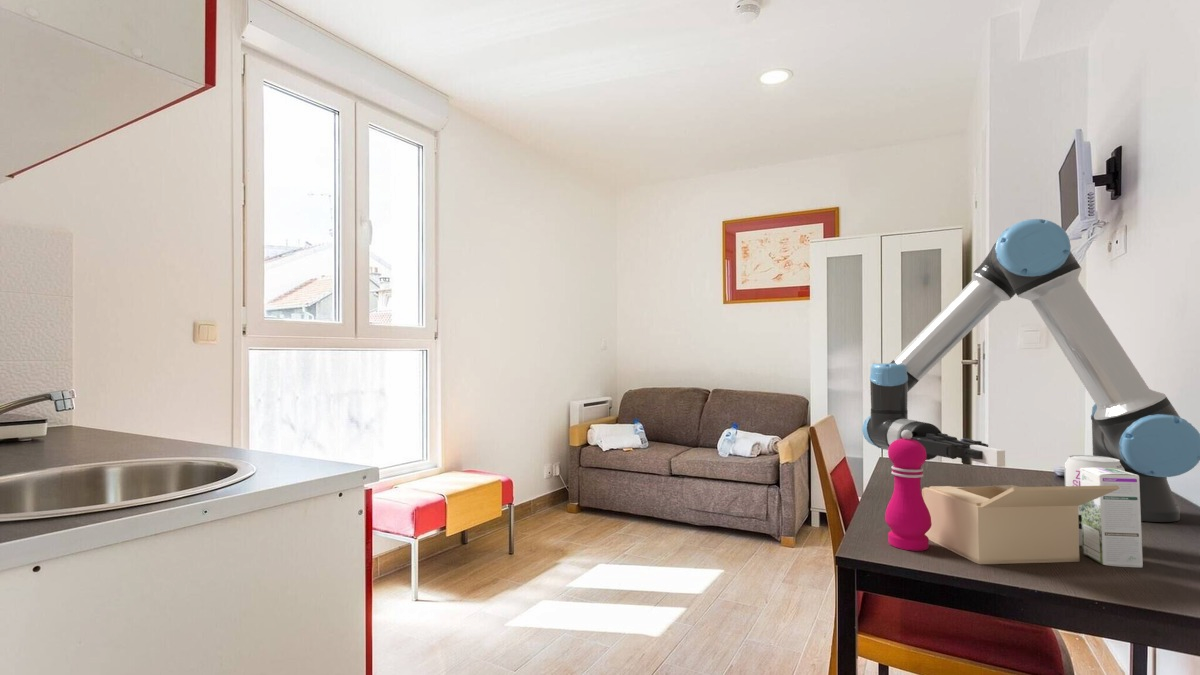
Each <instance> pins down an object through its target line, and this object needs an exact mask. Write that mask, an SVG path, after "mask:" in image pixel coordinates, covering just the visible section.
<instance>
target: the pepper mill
mask: <svg viewBox="0 0 1200 675" xmlns="http://www.w3.org/2000/svg"><path fill="white" fill-rule="evenodd" d="M901 436H902V438H903V439H898V440H895V441H894V442H892V443H891V444H890V446H889V449H888V450H887V455H888V459H889V460H890V461H891V462H892V466H891V474H892V475H893V476H894V477H893V478H894V483H893V485H894V487H893V488H894V489H893V493H892V495H891V497H890V499H889V502H888V504H887V507H886V509H885V514H884V520H885V523H886V525H887V526H888V527H889V529H890V531H889V532H888V536H887V537H888V540H887V541H888V544H889V545H890V546H892V547H894V548H896V549H900V550H906V551H914V552H915V551H916V552H920V551H921V552H922V551H926V550H928V549H929V547H930V544H929V543H930V542H929V541H930V540H929V538H928V537H927V536H926V535H925V533H926V532H927V531H928V530H929V529H930V528H931V525H932V523H931V516H930V513H929V510H928V508H927V506H926V504H925V502H924V499H923V497H922V488H921V481H922V478H923V477H924V473H923V472H924V468H923V467H922V466H923V464H924V463H925V462H926V461H927V460H926V456H927V455H926V450H925V448H924V446H923V445H922V444H921V443H919V442H918V441H916V440H913V439H911V438H912V433H911V431H909V430H904V431H902V433H901Z"/></svg>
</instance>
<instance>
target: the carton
mask: <svg viewBox="0 0 1200 675" xmlns="http://www.w3.org/2000/svg"><path fill="white" fill-rule="evenodd" d="M1012 487H1019V485H1014V484H1003V485H1002V484H1000V485H999V484H997V485H992V486H989V485H987V486H952V485H946V486H945V485H941V486H940V485H937V486H935V485H934V486H933V485H931V486H929V487H927V486H926V487H923V488H921V493H922V497H923V499H924V502H925V504H926V506H927V508H928V510H929V513H930V516H931V523H932V525H931V528H930V529H929V530H928V531H927V532H926V533H925V535H926V536H927V537H928V538H929V541H931V542H933V543H934V544H936V545H938V546H940V547H942V548H945V549H947V550H949V551H951V552H953V553H955V554H957V555H959V556H961V557H963V558H965V559H967V560H969V561H971V562H973V563H976V564H977V565H999V564H1001V565H1002V564H1003V565H1004V564H1007V565H1009V564H1038V563H1039V564H1041V563H1043V564H1044V563H1047V564H1048V563H1072V562H1073V563H1077V562H1080V546H1079V519H1078V506H1036V507H985V508H982V507H981V505H980V504H982V503H984V502H986V501H988V500H990V499H991V498H993V497H995V496H997V495H999V494H1001V493H1003V492H1005V491H1006V490H1008V489H1010V488H1012Z"/></svg>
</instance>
